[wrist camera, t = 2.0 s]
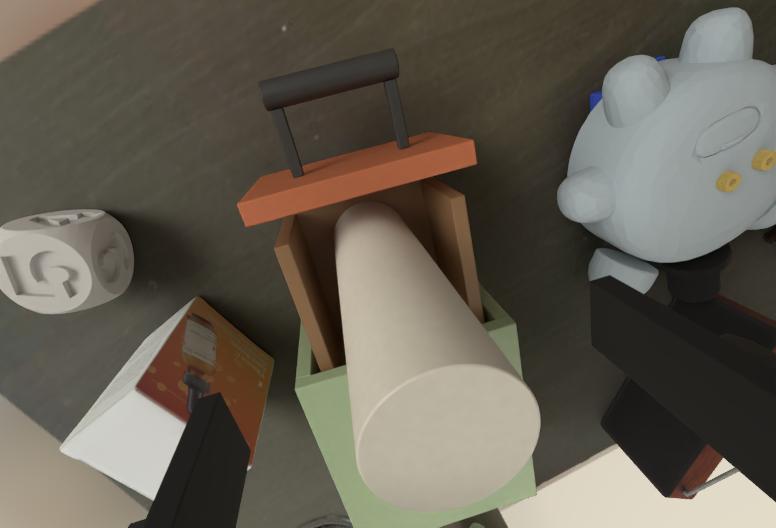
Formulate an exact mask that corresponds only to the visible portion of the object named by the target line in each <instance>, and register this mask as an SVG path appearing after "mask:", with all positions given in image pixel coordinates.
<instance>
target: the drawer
mask: <svg viewBox="0 0 776 528" xmlns="http://www.w3.org/2000/svg"><path fill="white" fill-rule="evenodd" d="M398 77H399V65H398V60H397V56H396V53H395V51H394V49H392V48H391V49H387V50H383V51H379V52H375V53H371V54H367V55H363V56H359V57H355V58H351V59H347V60H343V61H339V62H335V63H331V64H327V65H323V66H319V67H315V68H311V69H307V70H303V71H300V72H296V73H292V74H288V75H284V76H280V77H276V78H272V79H268V80H264V81H260V82H258V89H259V93H260V96H261V99H262V101H263V104H264V106H265V108H266V110H267V111H271V113H272V116H273V119H274V122H275V125H276V128H277V131H278V134H279V137H280V140H281V143H282V146H283V149H284V152H285V155H286V158H287V161H288V164H289V167H290V169H288V170H284V171H280V172H277V173H273V174H269V175H265V176H262V177H260V178H259V180H258V181H257V182H256V183H255V184H254V185H253V186H252V187H251V189H250V190H249V191H248V192H247V193H246V194H245V195H244V197H243V198H242V199H241V200H240V201H239V202H238V203H237V206H238V209H239V211H240V214H241V216H242V219H243V221H244V223H245V226H246V227H250V226H254V225H257V224H261V223H265V222H268V221H272V220H275V219H279V218H283V217H284V220H283V223H282V226H281V229H280V232H279V235H278V238H277V241H276V244H275V247H274V251H275V253H276V256H277V259H278V261H279V264H280V266H281V269H282V272H283V274H284V277H285V279H286V282H287V285H288V287H289V290H290V292H291V295H292V298H293V300H294V303H295V306H296V308H297V311H298V313H299V316H300V319H301V321H302V324H303V326H304V329H305V332H306V334H307V337H308V339H309V342H310V345H311V347H312V350H313V352H314V355H315V358H316V360H317V363H318V366H319V368H320V371H321V372H323V371H327V370H330V369H333V368H337V367H340V366H343V365H346V356H345V346H344V337H343V327H342V317H341V308H340V298H339V288H338V279H337V269H336V259H335V250H334V240H333V235H334V229H335V226H336V223H337V221H338V219H339V218H340V216H341V215H342V214H343V213H344V212H345V211H346V210H347V209H349V208H350V207H352V206H354V205H356V204H358V203H361V202H367V201H375V202H380V203H383V204H386V205H388V206H390V207H391V208H393V209H394V210H395V211H396V212H397V213H398V214H399V215H400V217H401V218H402V219H403V221H404V222H405V223H406V225H407V226H408V227H409V229H410V230H411V231H412V233H413V234H414V235H415V237H416V238H417V239H418V241H419V242H420V243H421V245H422V246H423V247H424V249H425V250H426V251H427V253H428V254H429V255H430V257H431V258H432V259H433V260H434V262H435V263H436V264H437V266H438V267H439V268H440V270H441V271H442V272H443V274H444V275H445V276H446V278H447V279H448V280H449V282H450V283H451V284H452V286H453V287H454V288H455V290H456V291H457V292H458V294H459V295H460V296H461V298H462V299H463V300H464V302H465V303H466V304H467V306H468V307H469V308H470V310H471V311H472V312H473V314H474V315H475V316H476V318H477V319H478V320H479V322H480V323H481V324H483V323H485V321H484V314H483V308H482V302H481V296H480V289H479V283H478V277H477V270H476V264H475V258H474V252H473V245H472V239H471V233H470V226H469V220H468V214H467V208H466V201H465V196H464V195H463V194H461V193H459V192H458V191H456V190H454V189H453V188H451V187H449V186H448V185H446V184H444V183H443V182H441V181H439V180H438V179H436V178H434V177H433V176H436V175H439V174H443V173H447V172H450V171H454V170H458V169H461V168H465V167H469V166H472V165H476V164H477V159H476V152H475V145H474V140H471V139H466V138H461V137H456V136H451V135H446V134H441V133H436V132H431V131H430V132H426V133H423V134H419V135H415V136H411V137H408V135H407V130H406V125H405V120H404V115H403V110H402V106H401V101H400V96H399V91H398V86H397V81H396V78H398ZM381 82H384V87H385V92H386V96H387V101H388V105H389V110H390V114H391V119H392V124H393V128H394V133H395V137H396V141H393V142H389V143H385V144H381V145H378V146H374V147H370V148H366V149H363V150H359V151H355V152H351V153H348V154H344V155H340V156H336V157H333V158H329V159H325V160H321V161H318V162H314V163H310V164H306V165H303V166H302V165H301V162H300V159H299V156H298V152H297V149H296V146H295V143H294V140H293V137H292V134H291V131H290V128H289V124H288V121H287V118H286V115H285V112H284V109H283V107H287V106H291V105H295V104H299V103H303V102H307V101H311V100H315V99H318V98H322V97H326V96H330V95H334V94H338V93H342V92H346V91H350V90H353V89H357V88H361V87H365V86H369V85H373V84H377V83H381Z"/></svg>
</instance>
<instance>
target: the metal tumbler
mask: <svg viewBox="0 0 776 528" xmlns="http://www.w3.org/2000/svg"><path fill="white" fill-rule="evenodd" d="M442 528H510V527H509V525H508V524H507V522H506V521H505V519H504V518H503V516H502V514H501V513H500V511H499V510H498V508H496V509H493V510H490V511H487V512H484V513H481V514H478V515H475V516H472V517H469V518H466V519H463V520H460V521H457V522H454V523H451V524H448V525H445V526H442Z"/></svg>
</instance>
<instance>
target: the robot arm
mask: <svg viewBox="0 0 776 528" xmlns="http://www.w3.org/2000/svg"><path fill="white" fill-rule="evenodd" d="M590 307H591V337H592V346H594V347H595V348H596V349H597V350H598V351H599V352H601V353H602V354H603V355H604V356H605V357H607V358H608V359H609V360H610V361H611V362H612V363H614V364H615V365H616V366H617V367H618V368H619V369H621V370H622V371H623V372H624V373H625V374H626V375H628V376H629V377H630V378H631V379H632V380H633V381H635V382H636V383H637V384H638V385H639V386H640V387H642V388H643V389H644V390H645V391H646V392H647V393H649V394H650V395H651V396H652V397H653V398H654V399H656V400H657V401H658V402H659V403H660V404H662V405H663V406H664V407H665V408H666V409H667V410H669V411H670V412H671V413H672V414H673V415H674V416H676V417H677V418H678V419H679V420H680V421H681V422H683V423H684V424H685V425H686V426H687V427H688V428H690V429H691V430H692V431H693V432H694V433H695V434H697V435H698V436H699V437H700V438H701V439H702V440H704V441H705V442H706V443H707V444H708V445H709V446H711V447H712V448H713V449H714V450H715V451H717V452H718V453H719V454H720V455H721V456H722V457H724V458H725V459H726V460H727V461H728V462H729V463H731V464H732V465H733V466H734V467H735V468H736V469H738V470H739V471H740V472H741V473H742V474H743V475H745V476H746V477H747V478H748V479H749V480H751V481H752V482H753V483H754V484H755V485H756V486H758V487H759V488H760V489H761V490H762V491H763V492H765V493H766V494H767V495H768V496H769V497H770V498H772V499H773V500H774V501H775V502H776V354H775V352H773V351H771V350H769V349H767V348H765V347H763V346H761V345H759V344H758V343H756V342H754V341H751V340H747V339H744V338H741V337H738V336H734V335H731V334H725V335H721V336H718V335H716V334H714V333H712V332H711V331H709V330H707V329H705V328H703V327H702V326H700V325H698V324H696V323H695V322H693V321H691V320H689V319H687V318H686V317H684V316H682V315H680V314H678V313H677V312H675V311H673V310H671V309H670V308H668V307H666V306H664V305H662V304H661V303H659V302H657V301H655V300H654V299H652V298H650V297H648V296H646V295H645V294H643V293H641V292H639V291H637V290H636V289H634V288H632V287H630V286H629V285H627V284H625V283H623V282H621V281H620V280H618V279H616V278H614V277H612V276H611V275H608V276H605V277H602V278H598V279H595V280H592V281H590ZM250 454H251V450H250V448H249V446H248V444H247V442H246V440H245V438H244V436H243V434H242V433H241V431H240V429H239V427H238V425H237V423H236V421H235V419H234V417H233V415H232V413H231V412H230V410H229V408H228V406H227V404H226V402H225V400H224V398H223V396H222V394H221V392H218V393H215V394H212V395H208V396H205V397H202V398H198V399H197V401H196V403H195V405H194V408H193V410H192V412H191V415H190V417H189V419H188V422H187V424H186V426H185V429H184V431H183V433H182V436H181V438H180V440H179V443H178V445H177V447H176V450H175V452H174V454H173V457H172V459H171V461H170V464H169V466H168V468H167V471H166V473H165V475H164V478H163V480H162V482H161V485H160V487H159V489H158V492H157V494H156V496H155V499H154V501H153V504H152V506H151V508H150V511H149V513H148V515H147V518H146V519H144V520H141V521H138V522H135V523H131V524H130V525H129V527H128V528H236V523H237V518H238V513H239V508H240V503H241V498H242V493H243V488H244V483H245V478H246V474H247V469H248V464H249V459H250Z"/></svg>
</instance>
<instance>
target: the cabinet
mask: <svg viewBox="0 0 776 528" xmlns="http://www.w3.org/2000/svg"><path fill="white" fill-rule="evenodd" d="M478 283H479V282H478ZM479 289H480V296H481V302H482V308H483V314H484V321H485V323H483V324H482V326H483V327H484V328H485V330H486V331H487V332H488V334H489V335H490V336H491V338H492V339H493V340H494V342H495V343H496V344H497V346H498V347H499V348H500V350H501V351H502V352H503V354H504V355H505V356H506V358H507V359H508V360H509V362H510V363H511V364H512V366H513V367H514V368H515V370H516V371H517V372H518V374H519V375H520V376H521V378H522V379H523V377H522V368H521V360H520V352H519V344H518V335H517V327H516V323H515V321H514V320H513V319H512V318H511V317H510V316H509V315H508V314H507V313H506V312H505V311H504V309H503V308H502V307H501V306H500V305H499V304H498V303H497V302H496V301H495V300H494V299H493V297H492V296H491V295H490V294H489V293H488V292H487V291H486V290H485V289H484V288H483V287H482V285H481V284H480V283H479ZM295 392H296V394H297V396H298V399H299V401H300V403H301V406H302V408H303V410H304V413H305V415H306V417H307V420H308V422H309V424H310V427H311V429H312V431H313V434H314V436H315V438H316V441H317V443H318V445H319V448H320V450H321V452H322V455H323V457H324V459H325V462H326V464H327V466H328V469H329V471H330V473H331V476H332V478H333V480H334V483H335V485H336V487H337V490H338V492H339V494H340V497H341V499H342V502H343V504H344V506H345V509H346V511H347V513H348V516H349V518H350V520H351V523H352V525H353V527H354V528H438V527H442V526H445V525H448V524H451V523H454V522H457V521H460V520H463V519H466V518H469V517H472V516H475V515H478V514H481V513H484V512H487V511H490V510H493V509H496V508H499V507H502V506H505V505H508V504H511V503H514V502H517V501H520V500H523V499H526V498H529V497H532V496H535V495H537V493H536V484H535V476H534V468H533V459H532V455H531V456H530V458H529V460H528V461H527V463H526V464H525V465H524V467H523V468H522V469H521V470H520V471H519V472H518V473H517V475H516V476H515V477H514V478H513V479H511V480H510V481H509V482H508V483H507V484H506V485H504V486H503V487H501V488H500V489H499V490H497V491H496V492H494V493H492V494H491V495H489V496H487V497H485V498H483V499H481V500H479V501H477V502H475V503H472V504H469V505H467V506H463V507H460V508H456V509H451V510H446V511H437V512H419V511H411V510H406V509H402V508H399V507H396V506H393V505H391V504H389V503H387V502H385V501H383V500H382V499H380V498H379V497H377V496H376V495H375V494H374V493H373V492H372V491H371V490H370V489H369V488H368V487H367V485H366V484H365V482H364V481H363V479H362V477H361V475H360V473H359V470H358V467H357V463H356V453H355V443H354V434H353V424H352V414H351V405H350V395H349V385H348V375H347V366H346V365H343V366H340V367H337V368H333V369H330V370H327V371H323V372H321V371H320V368H319V366H318V363H317V360H316V358H315V355H314V352H313V350H312V347H311V345H310V342H309V339H308V337H307V334H306V332H305V329H304V326H303V324H302V321H301V327H300V338H299V349H298V360H297V371H296V383H295Z"/></svg>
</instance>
